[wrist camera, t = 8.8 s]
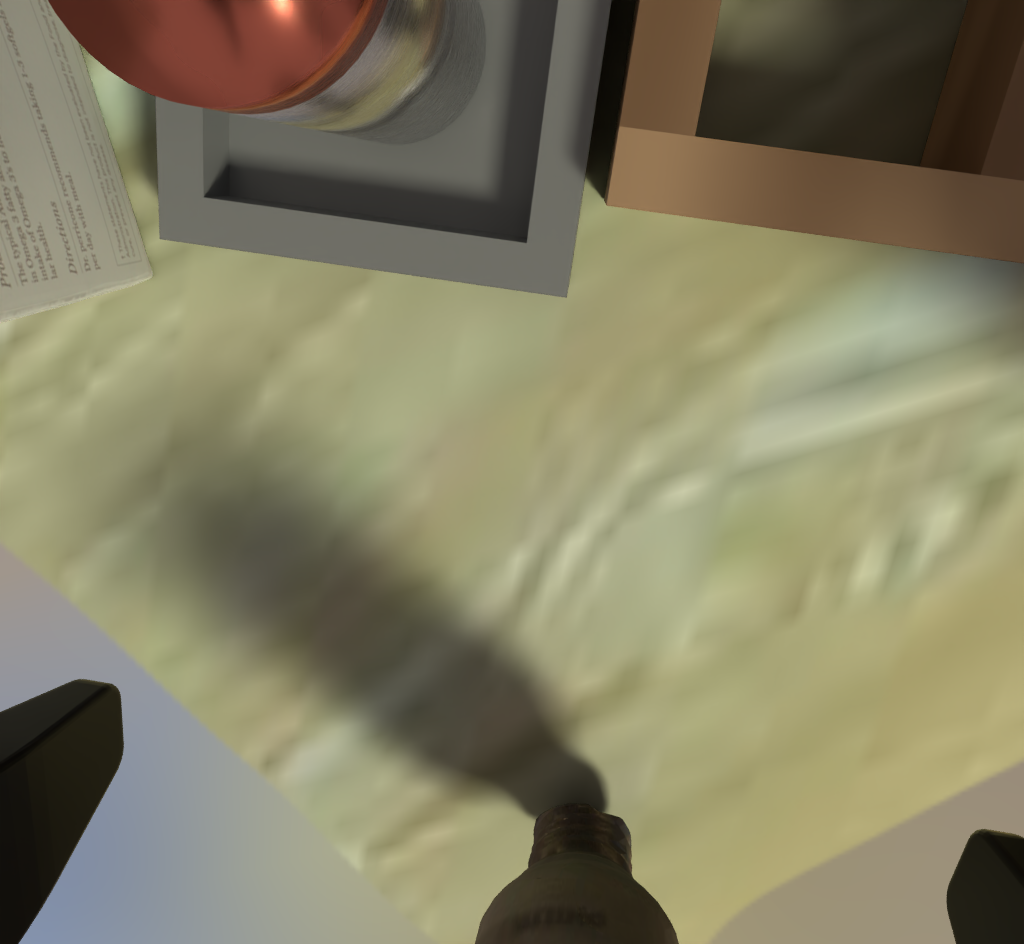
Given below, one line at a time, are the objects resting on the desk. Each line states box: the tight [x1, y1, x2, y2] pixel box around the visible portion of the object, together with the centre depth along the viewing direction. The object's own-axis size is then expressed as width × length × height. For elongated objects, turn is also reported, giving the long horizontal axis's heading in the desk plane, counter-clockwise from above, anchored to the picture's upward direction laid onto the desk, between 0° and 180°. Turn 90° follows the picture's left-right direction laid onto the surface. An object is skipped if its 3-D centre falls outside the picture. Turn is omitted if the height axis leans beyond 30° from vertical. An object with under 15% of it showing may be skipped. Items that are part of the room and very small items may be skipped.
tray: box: [155, 0, 612, 298], centre depth 16 cm, size 9×9×2 cm
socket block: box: [604, 0, 1024, 263], centre depth 15 cm, size 8×8×3 cm
